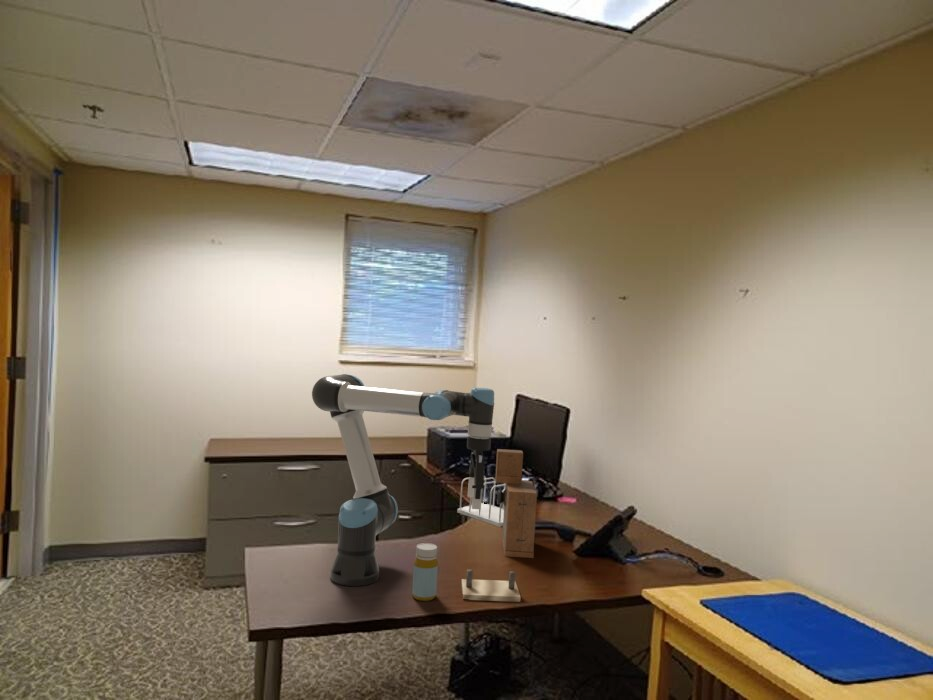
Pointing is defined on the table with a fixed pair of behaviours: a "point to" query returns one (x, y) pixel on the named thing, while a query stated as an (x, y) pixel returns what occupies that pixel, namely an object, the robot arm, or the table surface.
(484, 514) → the file sorter
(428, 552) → the bottle
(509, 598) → the peg stand
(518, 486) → the tan tall stacked block
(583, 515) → the table surface
